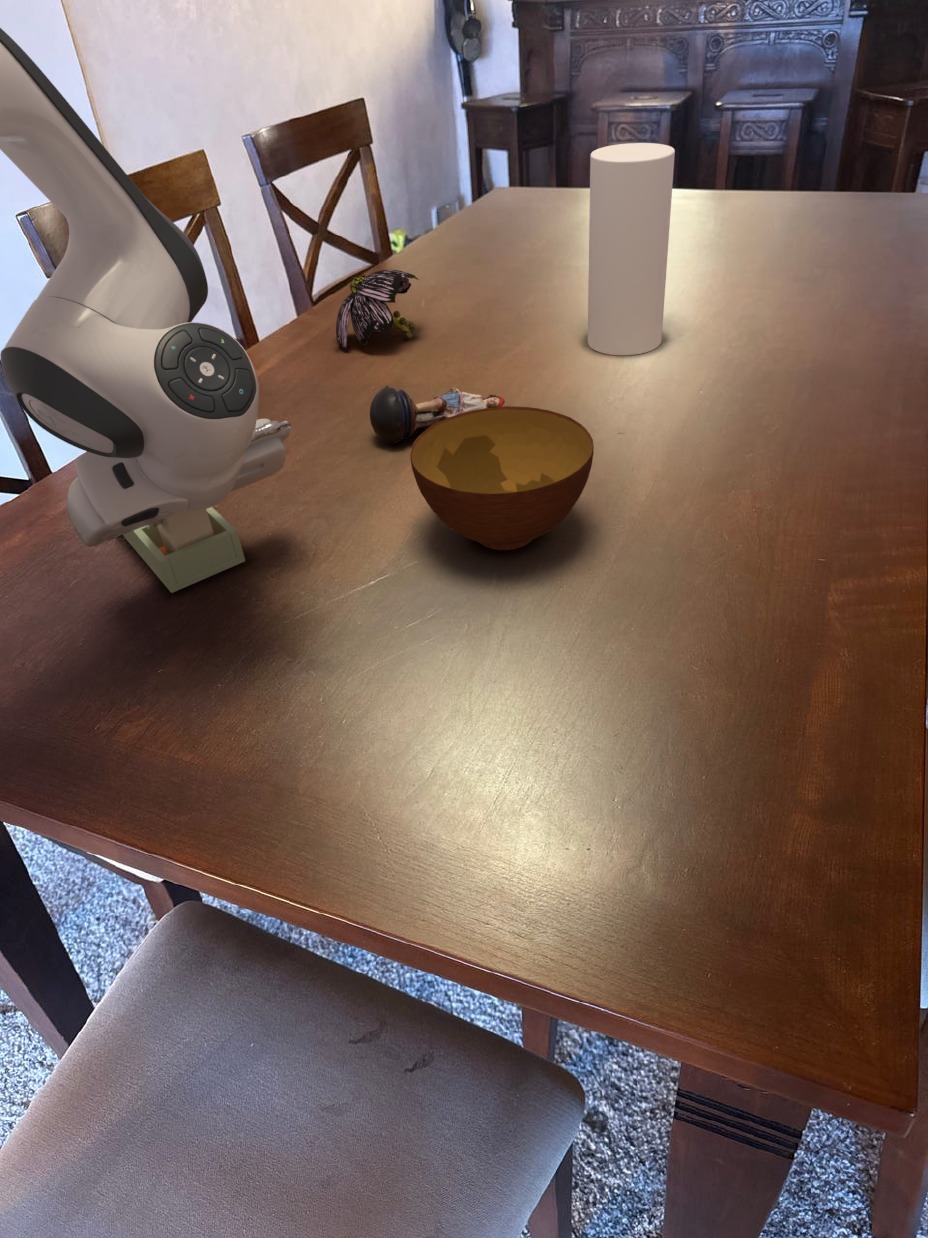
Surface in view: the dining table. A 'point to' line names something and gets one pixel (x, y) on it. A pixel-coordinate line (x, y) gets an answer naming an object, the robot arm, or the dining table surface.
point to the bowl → (503, 472)
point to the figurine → (420, 411)
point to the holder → (189, 553)
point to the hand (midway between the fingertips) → (176, 509)
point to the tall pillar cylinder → (628, 246)
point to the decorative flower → (373, 306)
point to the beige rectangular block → (185, 529)
